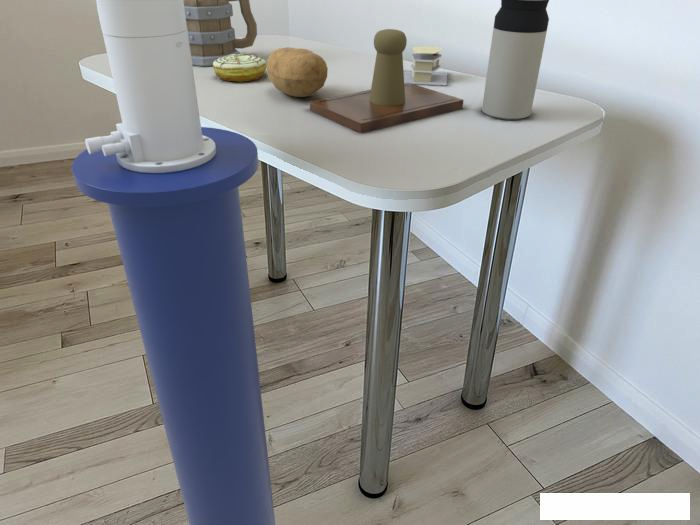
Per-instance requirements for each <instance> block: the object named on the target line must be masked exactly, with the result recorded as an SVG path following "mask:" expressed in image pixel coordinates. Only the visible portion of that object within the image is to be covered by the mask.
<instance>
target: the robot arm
mask: <svg viewBox="0 0 700 525" xmlns="http://www.w3.org/2000/svg"><path fill="white" fill-rule="evenodd" d="M95 4H96V9H97V15H98V20H99V24H100V28H101V33H102V36H103V37H102V38H103V41H104V46H105V50H106V56H107V59H108V64H109V69H110V73H111V76H112V77H111V78H112V82H113V87H114V92H115V96H116V100H117V106H118V109H119V110H118V111H119V114H120V115H119V116H120V118H121V122H119V123H116V124H115V126H116V130H114V131H110V135H104V136H101V135H100V136H99V135H98V136H93V137H89V138H85V139H84V143H85V147H86V149H87V150H88V152H89V154H95V153H100V152H103V154H104V156H110V155H115V154H116V155H117V160H118V163H119V164H120V165H121V166H122V167H124V168H126V169H128V170H131V171H135V172H141V173H171V172H178V171H183V170H187V169H191V168H194V167H198V166H200V165H202V164H205V163H206V162H208V161H210V160H211V159H212V158H213V157H214V156H215V154H216V145H215V142H214V141H213V140H212V139H210V138H209V137H206V136H204V135H202V130H201V127H202V124H201V116H200V110H199V102H198V96H197V88H196V87H197V86H196V80H195V74H194V67H193V66H194V65H192V59H191V52H190V45H189V38H188V30H187V24H186V17H185V9H184V1H183V0H95Z"/></svg>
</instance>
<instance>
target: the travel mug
mask: <svg viewBox="0 0 700 525" xmlns="http://www.w3.org/2000/svg"><path fill="white" fill-rule="evenodd" d="M500 2H501V3H500V8H498V11H497V12H496V14H495V15H494V22H493V28H492V34H491V43H490V49H489V57H488V63H487V72H486V78H485V85H484V90H483V91H484V92H483V98H482V105H481V112H483V113H484V114H486V115H487V116H488V117H492V118H496V119H499V120H513V121H514V120H522V119H525V118H527V117H529V116H531V115H532V110H533V105H534V99H535V94H536V90H537V85H538V79H539V73H540V68H541V63H542V58H543V53H544V48H545V42H546V37H547V32H548V26H549V21H550V18H549V15H548V11H547V7H548V4H549V2H550V0H500Z"/></svg>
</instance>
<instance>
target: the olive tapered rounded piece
mask: <svg viewBox="0 0 700 525" xmlns="http://www.w3.org/2000/svg"><path fill="white" fill-rule="evenodd" d="M407 41H408V40H407V36H406V34H405V32H403V31H402V30H398V29H394V28H385V29H381V30H379V31H377V32H376V33H375V35H374V37H373V46H374V50H375V51H376V56H375V62H374V69H373V74H372V80H371V85H370V86H371V87H370V88H371V89H370V90H371V93H370V99H369V100H370V102H371V103H374V104H377V105H384V106H394V105H400V104H403V103H405V87H404V72H405V70H404V57H403V52H404V51H405V50H406V47H407V43H408V42H407Z"/></svg>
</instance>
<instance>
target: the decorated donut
mask: <svg viewBox="0 0 700 525" xmlns="http://www.w3.org/2000/svg"><path fill="white" fill-rule="evenodd" d="M266 64H267V60H265V59H264V58H263V57H260V56H257V55H253V54H241V53H240V54H231V55H227V56H224V57H221V58H218V59H216V60H215V61H214V62H213V66H212V69H213V72H214V74H215V76H216V77H217V78H219V79H222V80H223V81H225V82H234V83H235V82H237V83H238V82H244V83H245V82H251V81H256V80H258V79H259V78H261V77H263V76H264V74H265V72H266V71H267V66H266Z"/></svg>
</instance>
